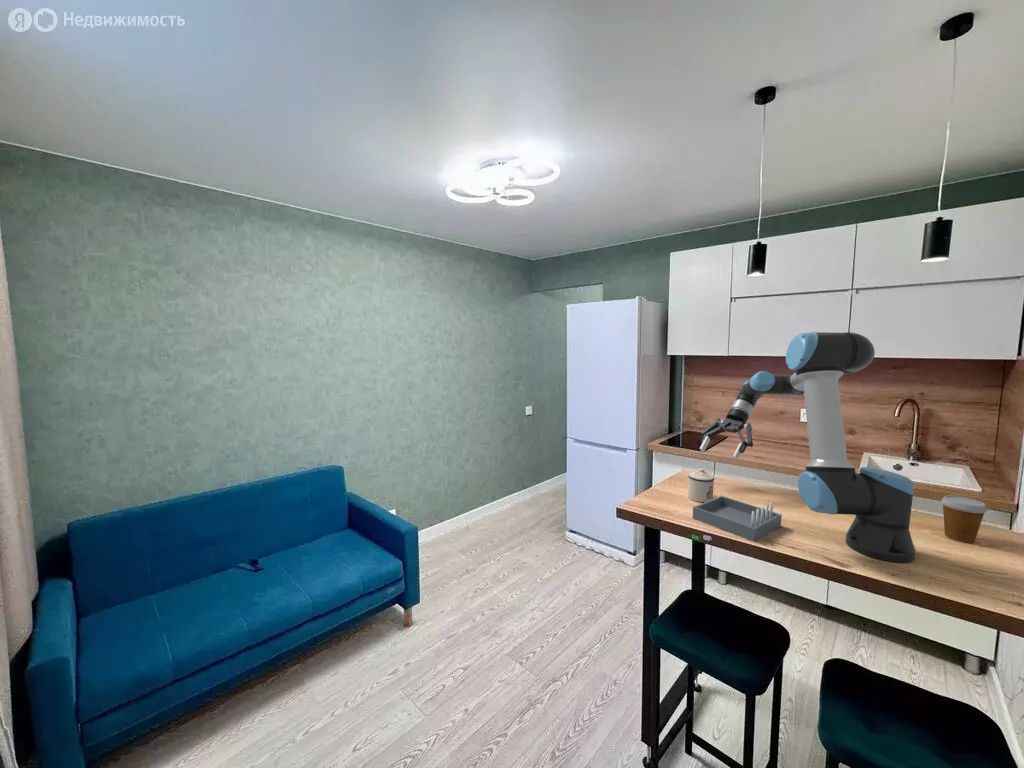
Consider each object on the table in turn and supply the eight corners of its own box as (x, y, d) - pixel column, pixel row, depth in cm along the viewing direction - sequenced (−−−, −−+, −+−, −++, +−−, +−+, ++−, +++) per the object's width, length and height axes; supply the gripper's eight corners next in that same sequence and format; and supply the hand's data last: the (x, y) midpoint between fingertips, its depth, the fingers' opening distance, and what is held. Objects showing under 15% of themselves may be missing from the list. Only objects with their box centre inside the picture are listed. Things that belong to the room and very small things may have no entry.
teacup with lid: (711, 505, 153) (713, 474, 152) (685, 500, 158) (686, 470, 156) (715, 494, 163) (717, 465, 162) (690, 490, 168) (691, 462, 166)
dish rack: (780, 526, 135) (782, 502, 135) (753, 541, 125) (755, 516, 124) (720, 506, 152) (721, 485, 151) (692, 518, 142) (693, 495, 141)
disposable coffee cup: (969, 547, 121) (974, 508, 120) (929, 533, 130) (933, 496, 129) (991, 543, 124) (996, 504, 123) (950, 529, 133) (954, 493, 132)
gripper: (774, 423, 163) (753, 467, 156) (713, 414, 183) (692, 452, 177) (769, 411, 159) (747, 456, 153) (707, 403, 180) (685, 442, 173)
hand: (717, 454), depth 165 cm, fingers open, 13 cm apart
